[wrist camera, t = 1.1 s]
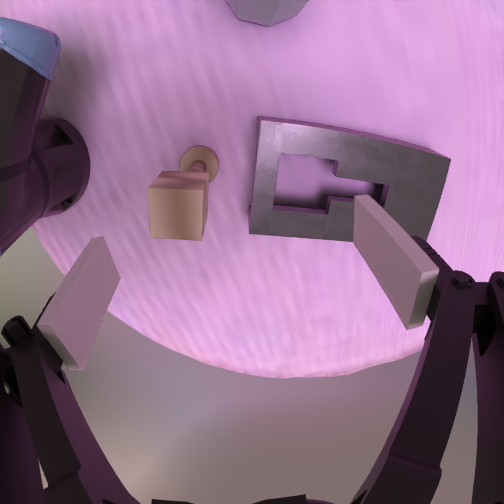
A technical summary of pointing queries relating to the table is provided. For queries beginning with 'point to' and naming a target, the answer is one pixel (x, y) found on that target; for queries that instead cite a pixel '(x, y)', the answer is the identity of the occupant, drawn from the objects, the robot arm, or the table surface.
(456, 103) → the table surface
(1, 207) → the robot arm
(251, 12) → the water bottle
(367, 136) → the keyhole plate
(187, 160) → the peg
